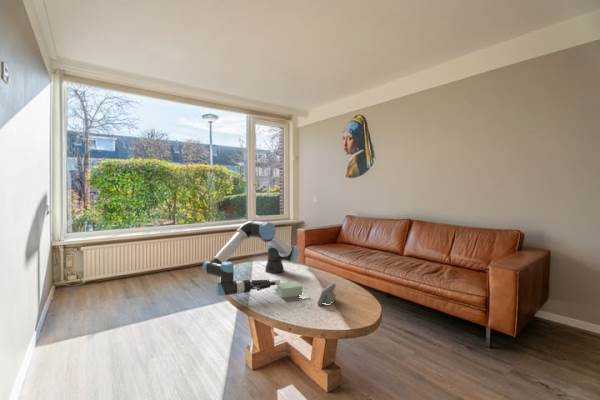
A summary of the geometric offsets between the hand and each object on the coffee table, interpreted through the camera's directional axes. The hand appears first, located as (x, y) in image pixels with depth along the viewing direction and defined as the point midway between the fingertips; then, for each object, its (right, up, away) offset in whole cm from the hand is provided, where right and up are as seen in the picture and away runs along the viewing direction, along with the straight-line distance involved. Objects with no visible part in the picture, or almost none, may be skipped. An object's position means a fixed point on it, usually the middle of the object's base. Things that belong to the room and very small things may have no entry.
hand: (279, 282), depth 184 cm
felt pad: (+8, -9, +5) cm, 13 cm away
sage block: (0, -6, +1) cm, 6 cm away
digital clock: (+30, -11, -6) cm, 32 cm away
